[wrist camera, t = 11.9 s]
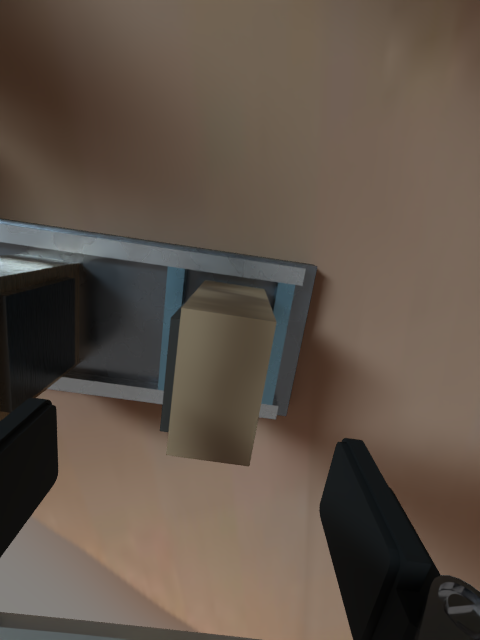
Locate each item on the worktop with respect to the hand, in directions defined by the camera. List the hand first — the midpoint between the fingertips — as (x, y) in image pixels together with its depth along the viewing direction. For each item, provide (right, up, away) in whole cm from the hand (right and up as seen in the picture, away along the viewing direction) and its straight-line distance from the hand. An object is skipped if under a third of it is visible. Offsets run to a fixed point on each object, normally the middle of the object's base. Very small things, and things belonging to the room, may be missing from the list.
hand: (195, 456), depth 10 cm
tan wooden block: (0, +3, +14) cm, 14 cm away
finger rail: (-7, +5, +15) cm, 17 cm away
